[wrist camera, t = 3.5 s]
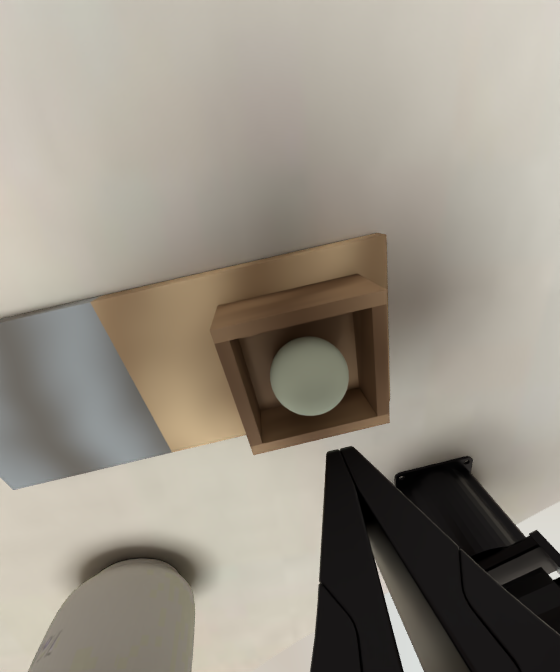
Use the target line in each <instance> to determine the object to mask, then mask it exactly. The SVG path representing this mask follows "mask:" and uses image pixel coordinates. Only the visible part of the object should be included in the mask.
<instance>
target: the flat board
mask: <svg viewBox="0 0 560 672" xmlns="http://www.w3.org/2000/svg"><path fill="white" fill-rule="evenodd" d="M353 274H359V275H361V276H363V277H365V278H366V279H368V280H370V281H372V282H374V283H375V284H377V285H379V286H381V287H383V288H384V289H386V295H387V336H388V378H389V332H388V286H387V241H386V234H379V233H375V234H371V235H366V236H362V237H358V238H353V239H349V240H344V241H340V242H336V243H331V244H327V245H322V246H318V247H314V248H309V249H305V250H300V251H296V252H292V253H287V254H283V255H279V256H274V257H270V258H265V259H261V260H257V261H252V262H248V263H243V264H239V265H235V266H230V267H226V268H222V269H217V270H213V271H208V272H204V273H200V274H195V275H191V276H186V277H182V278H178V279H173V280H169V281H164V282H160V283H156V284H151V285H147V286H143V287H138V288H134V289H129V290H125V291H121V292H116V293H112V294H107V295H103V296H99V297H94V298H90V299H86V300H81V301H77V302H72V303H68V304H64V305H59V306H55V307H50V308H46V309H42V310H37V311H33V312H28V313H24V314H20V315H15V316H11V317H7V318H2V319H0V478H1V479H2V480H4V481H5V482H6V483H7V484H8V485H9V486H10V487H11V488H12V489H13V490H16V489H20V488H24V487H28V486H32V485H37V484H41V483H45V482H49V481H54V480H58V479H62V478H66V477H70V476H75V475H79V474H83V473H87V472H91V471H96V470H100V469H104V468H108V467H113V466H117V465H121V464H125V463H129V462H134V461H138V460H142V459H146V458H150V457H155V456H159V455H163V454H167V453H171V452H176V451H180V450H184V449H188V448H193V447H197V446H201V445H205V444H209V443H214V442H218V441H222V440H226V439H230V438H235V437H239V436H243V435H246V432H245V429H244V427H243V424H242V421H241V418H240V415H239V412H238V410H237V407H236V404H235V401H234V398H233V396H232V393H231V390H230V387H229V384H228V381H227V379H226V376H225V373H224V370H223V367H222V364H221V362H220V359H219V356H218V353H217V350H216V347H215V345H214V342H213V339H212V336H211V333H210V327H211V324H212V321H213V318H214V315H215V312H216V309H217V306H218V305H222V304H227V303H231V302H235V301H240V300H244V299H248V298H253V297H257V296H261V295H266V294H270V293H274V292H279V291H283V290H288V289H292V288H296V287H301V286H305V285H309V284H314V283H318V282H322V281H327V280H331V279H335V278H340V277H344V276H348V275H353ZM389 401H390V378H389Z"/></svg>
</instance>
